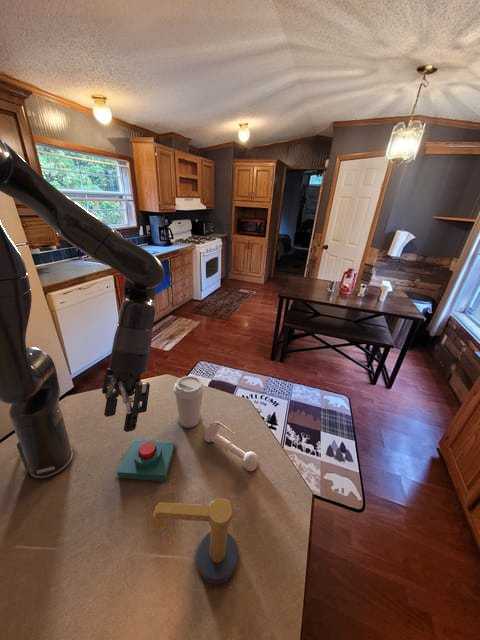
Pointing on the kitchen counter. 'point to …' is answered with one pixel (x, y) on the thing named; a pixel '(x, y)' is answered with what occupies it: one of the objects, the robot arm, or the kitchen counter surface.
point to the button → (147, 450)
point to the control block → (147, 462)
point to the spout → (195, 513)
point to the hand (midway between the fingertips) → (118, 422)
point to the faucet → (230, 445)
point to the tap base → (217, 557)
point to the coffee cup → (189, 400)
